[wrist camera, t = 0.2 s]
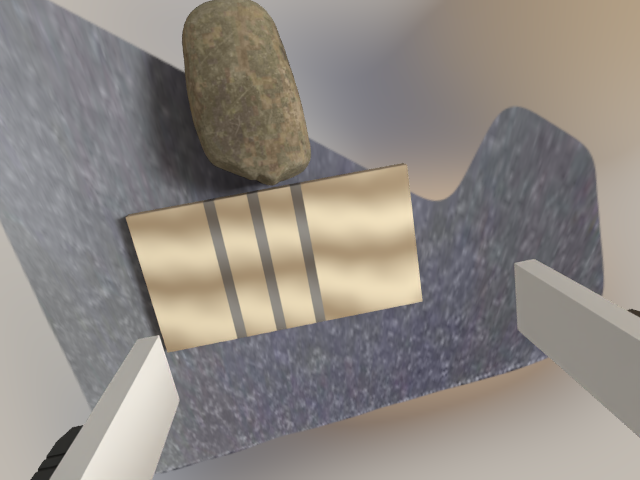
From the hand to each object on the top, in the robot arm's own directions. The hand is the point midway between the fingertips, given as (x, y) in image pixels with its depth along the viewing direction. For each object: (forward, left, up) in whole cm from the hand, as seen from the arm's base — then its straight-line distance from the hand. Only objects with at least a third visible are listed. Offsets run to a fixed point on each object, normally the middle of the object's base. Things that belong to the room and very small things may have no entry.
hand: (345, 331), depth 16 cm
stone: (-10, -3, -27) cm, 29 cm away
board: (+5, -3, -27) cm, 27 cm away
